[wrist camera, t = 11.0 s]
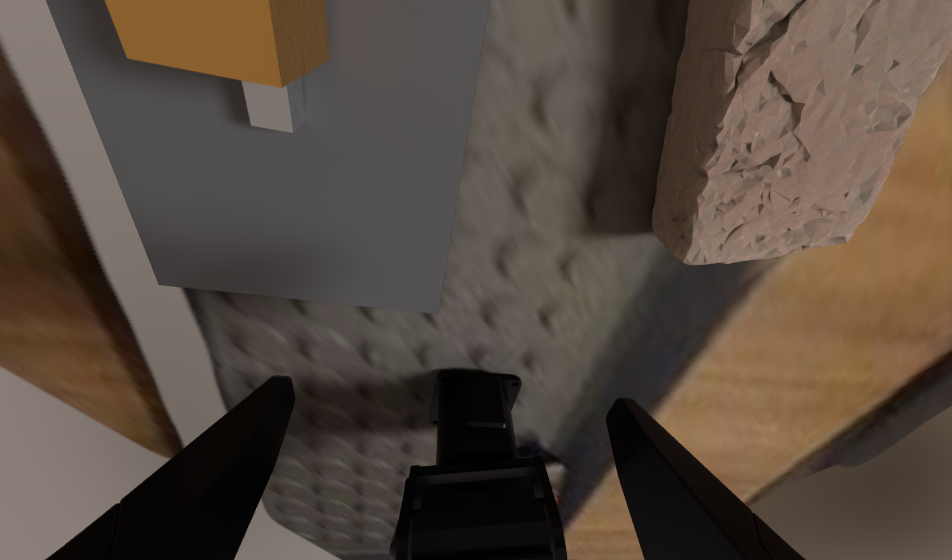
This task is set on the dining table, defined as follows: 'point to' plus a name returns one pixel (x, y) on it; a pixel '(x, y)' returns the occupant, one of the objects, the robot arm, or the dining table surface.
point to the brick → (789, 120)
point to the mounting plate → (295, 156)
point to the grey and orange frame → (233, 46)
